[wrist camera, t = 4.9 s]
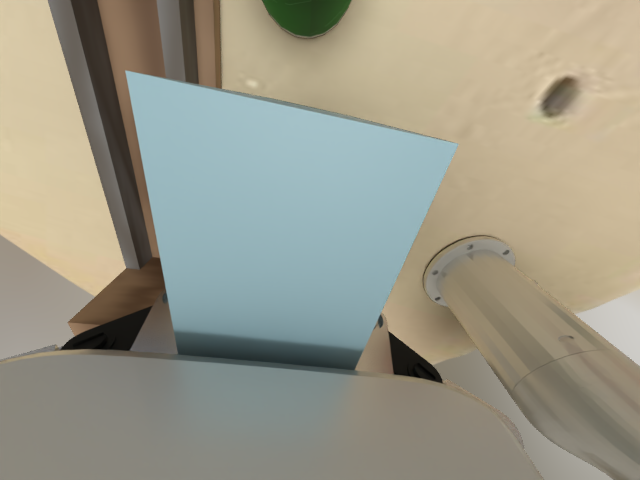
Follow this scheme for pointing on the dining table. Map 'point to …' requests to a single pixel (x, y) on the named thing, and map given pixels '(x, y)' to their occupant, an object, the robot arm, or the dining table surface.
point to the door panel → (278, 219)
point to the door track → (130, 117)
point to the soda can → (306, 15)
